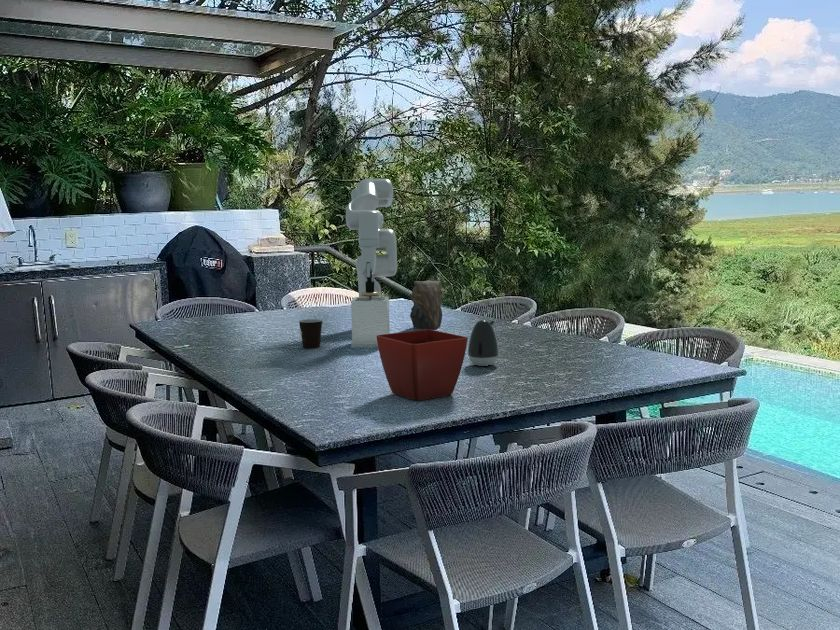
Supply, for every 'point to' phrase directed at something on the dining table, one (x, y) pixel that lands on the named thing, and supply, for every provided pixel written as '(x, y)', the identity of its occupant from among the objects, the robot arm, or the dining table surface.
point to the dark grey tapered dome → (483, 344)
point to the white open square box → (369, 321)
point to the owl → (426, 304)
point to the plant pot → (422, 362)
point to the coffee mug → (311, 333)
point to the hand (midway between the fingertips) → (370, 292)
